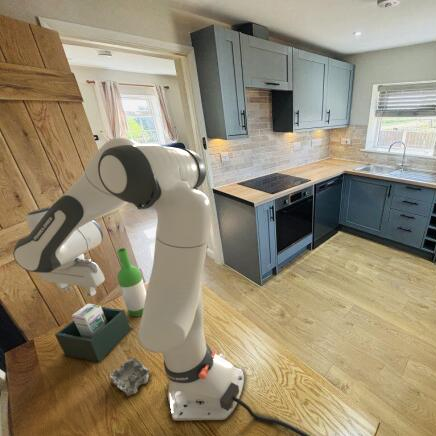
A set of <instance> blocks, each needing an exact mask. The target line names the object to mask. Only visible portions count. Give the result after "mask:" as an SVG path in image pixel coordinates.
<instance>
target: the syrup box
mask: <svg viewBox="0 0 436 436" xmlns="http://www.w3.org/2000/svg"><path fill="white" fill-rule="evenodd" d="M101 307H102V305H98V304H94V303H86V305H85V306H82V307H81V308H80V309H78V310H77V311H76V312H75V313H73V314H72V315H71V318H72V321H73V320H74V322H75V324H76V326H77V328H78V330H79V332H80V334H81V337H83V338H88V339H91V338H92V337H93V336H94V335H95V334H96V333H98V332H99V331H100V330H101V329H102V328H103V327H104V326H105V325H106V324H108V323H107V321H106V318H105V316H104V313H103V311H102V308H101Z"/></svg>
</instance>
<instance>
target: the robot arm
mask: <svg viewBox="0 0 436 436" xmlns="http://www.w3.org/2000/svg"><path fill="white" fill-rule="evenodd" d="M206 176H207V169H206V165H205V162H204V160H203V158H202V157H201V156H200V155H199V154H198V153H197V152H195V151H193V150H190V149H188V148H184V147H172V146H163V145H159V144H140V143H138V142H137V141H134V140H132V139H129V138H125V137H114V138H111V139H109V140H107V142H105V143H104V144H103V145H102V146H101V147H100V148H99V149H98V150H97V151H96V153H95V154H94V155H93V156H92V157H91V159H90V160H89V162H88V163H87V166H86V167H85V169H84V171H83V172H82V173H81V175H80V176H79V178H78V179H77V180H76V181H75V182H74V183H73V185H72V186H71V187H70V188H69V189H68V190H67V191H66V192H65V193H64V194H63V195H61V197H59V198H58V199H57V200H56V201H55V203H53V204H52V205H50V206H46V207H42V208H39V209H35V210H32V211H29V212H28V213H27V214H26V216H25V219H26V220H25V222H26V224H27V228H28V231H29V234H28V235H27V236H24V237H21V238H19V239H18V240H17V242H16V244H15V246H14V248H13V252H12V254H13V258H14V261H15V262H16V264H17V265H18V266H19V267H20V268H22V269H23V270H25V271H27V272H30V273H31V272H32V273H38V275H39V277H40V278H41V279H42V280H43V281H44V282H50V283H55V285H56V286H57V287H59V288H60V289H61V291H62V293H70V292H71V291H72V290H73V288H72V286H79V287H85V288H86V289H87V290H86V291H85V293H86V295H87V296H88V297H94V295H96V294H97V290H96V288H98V287H99V286H100V285H101V284H103V283H104V282H105V280H106V279H105V275H104V273H103V271H102V270H101V268H100V266H99V265H98V264H97V263H96V262H94V261H92V260H91V259H85V254H86V253H87V252H89V251H91V250H93V249H95V248H97V247H98V246H100V245H101V244H102V242H103V240H104V232H103V229H102V227H101V226H100V224H99V223H98V222H97V221H95V220H97V219H100V218H102V217H105V216H107V215H109V214H112V213H114V212H116V211H119V210H121V209H122V208H124V207H125V206H126V205H127V204H129V203H130V204H132V205H133V206H135V207H136V208H137V209H139V210H147V209H149V208H151V207H153V208H154V210H155V212H156V216H157V221H156V231H155V241H154V252H153V253H154V254H153V263H152V268H151V269H152V270H151V273H150V277H149V281H148V285H147V290H146V298H145V303H144V309H143V314H142V315H141V318H140V323H139V327H138V332H137V340H138V343H139V345H141V347H143V348H144V349H145V350H147V351H149V352H152V353H156V354H162V357H163V367H164V373H165V375H166V377H167V378H168V390H167V400H168V403H169V405H170V409H171V410H170V412H171V418H172V420H173V421H176V422H177V421H224V420H226V419H228V417H230V416H231V414H232V413H233V411H234V410H235V408H236V407H237V404H238V405H240V406H242V407H243V408H244V409H245V410H246V411H247V412H248V414H249V415H250V416H251V417H252V418H253V419H256V420H258V421H261V422H265V423H271V424H276V425H278V426H282V427H284V428H285V429H288V430H290V431H292V432H294V433H295V434H297V435H299V436H311V435H310V434H308V433H306V432H304V431H302V430H301V429H299V428H297V427H295V426H293V425H291V424H289V423H287V422H285V421H282V420H280V419H276V418H272V417H266V416H262V415H259V414H257V413H255V412H254V411H253V410H252V408H251V407H250V406H249V405H248V404H247V403H245V402H244V401H242V400H241V399H240V397H241V394H242V392H243V388H244V383H245V382H244V381H245V377H244V376H245V375H244V372H243V369H240V368H238V367H235V366H234V364H233V363H231V362H230V361H228V360H227V359H226V355H225V354H224V353H219V354H217V351H216V348H214V349H213V350H212V349H211V347H210V346H209V344H208V343H207V342H206V334H205V329H204V328H205V327H204V299H203V298H204V297H203V280H202V278H203V274H204V269H205V264H206V257H207V252H208V246H209V240H210V233H211V224H212V223H211V222H212V213H211V211H212V209H211V201H210V199H209V198H208V196H207V195H206V194H205V193H204V192H202V191H201V190H199V189H198V188H199V187H201V186H202V185H203V184H204V182H205V180H206Z"/></svg>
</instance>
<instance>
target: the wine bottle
mask: <svg viewBox="0 0 436 436" xmlns="http://www.w3.org/2000/svg"><path fill="white" fill-rule="evenodd" d="M116 253H117V256H118V260H119V263H120V266H121V268H120V270H119V271H118V273H117V277H116V278H117V282H118V284H119V289H120V292H121V295H122V297H123V300H124V303H125V306H126V309H127V312H128V314H129V315H130V317H140V316H142V314H143V309H144V303H145V298H146V293H147V290H146V288H145V287H146V286H145V283H144V280H143V276H142V272H141V271H140V269H139V268H138V267H137V266H136V265H132V264H131V260H130V257H129V254H128V251H127V248H125V247H122V248H119V249H117V250H116Z"/></svg>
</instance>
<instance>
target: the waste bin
mask: <svg viewBox="0 0 436 436" xmlns="http://www.w3.org/2000/svg"><path fill="white" fill-rule="evenodd" d="M101 308H102V311H103V313H104V316H105V318H106V321H107V323H108V324H106V325H105V326H104V327H103V328H102V329H101V330H100V331H99V332H98V333H96V334H95V335H94V336H93V337H92V338H91V339H88V338H83V337H81V334H80V332H79V330H78V328H77V326H76V324H75V322H74V320H73V319H72V321H71V322H69V323H68V324H66V325H65V326H64V327H63V328H61V329H60V330H59V331H57V332H56V333H55V334H54V336H55V338H56V340H57V342H58V344H59V345H60V348H61V349H62V351H63V354H64V355H65V356H68V357H73V358H78V359H83V360H88V361H93V362H97V363H100V362H101V361H102V360H103V359H104V358H105V357H106V355H108V354H109V353H110V352H111V350H113V348H114V347H115V346H117V344H118V343H119V342H120V341H121V340H122V339H123V338H124V337H125V336H126V335H127V334H128V333H129V332H130V331H131V330H132V329H131V326H130V323H129V320H128V317H127V313H126V311H125V310H124V309H119V308H113V307H107V306H101Z"/></svg>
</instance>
